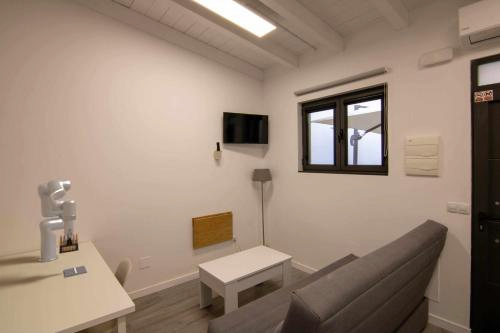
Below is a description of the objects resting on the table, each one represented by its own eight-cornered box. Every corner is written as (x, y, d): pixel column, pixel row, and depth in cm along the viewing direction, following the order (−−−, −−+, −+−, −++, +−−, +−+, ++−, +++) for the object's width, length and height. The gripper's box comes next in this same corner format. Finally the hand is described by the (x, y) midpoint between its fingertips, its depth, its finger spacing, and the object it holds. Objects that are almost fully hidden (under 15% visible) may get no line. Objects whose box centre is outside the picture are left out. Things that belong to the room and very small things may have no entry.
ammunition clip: (78, 249, 176) (78, 232, 176) (78, 250, 175) (78, 233, 175) (59, 253, 169) (59, 235, 169) (59, 253, 168) (59, 235, 168)
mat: (63, 270, 175) (63, 269, 175) (84, 266, 183) (84, 265, 183) (65, 277, 165) (65, 276, 165) (86, 272, 172) (86, 271, 172)
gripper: (62, 217, 176) (61, 243, 176) (62, 221, 163) (62, 249, 163) (75, 216, 181) (74, 241, 180) (76, 219, 168) (76, 247, 168)
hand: (69, 245), depth 172 cm, fingers closed on ammunition clip, 1 cm apart
